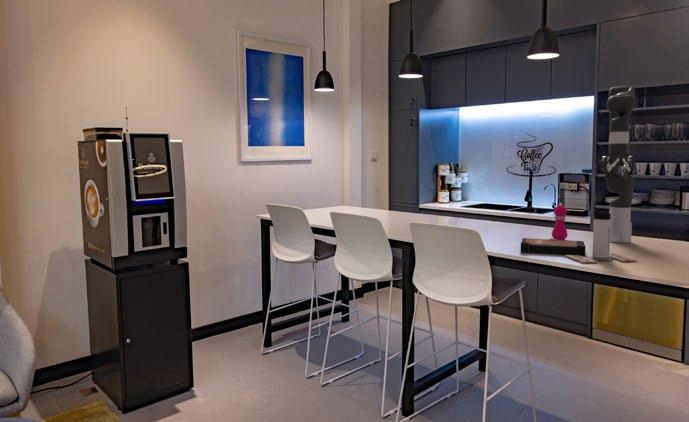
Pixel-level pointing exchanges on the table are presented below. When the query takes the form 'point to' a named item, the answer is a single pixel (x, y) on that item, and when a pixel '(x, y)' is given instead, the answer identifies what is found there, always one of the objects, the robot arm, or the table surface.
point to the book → (552, 247)
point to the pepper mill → (560, 223)
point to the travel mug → (601, 235)
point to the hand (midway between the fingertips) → (616, 180)
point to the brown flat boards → (593, 261)
